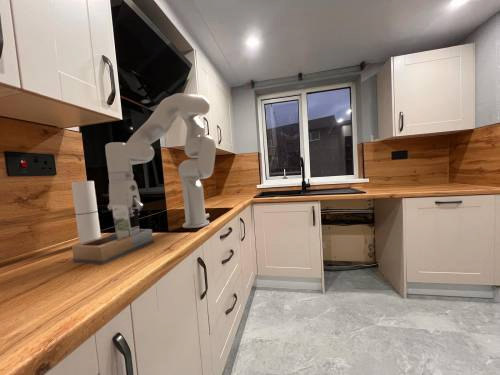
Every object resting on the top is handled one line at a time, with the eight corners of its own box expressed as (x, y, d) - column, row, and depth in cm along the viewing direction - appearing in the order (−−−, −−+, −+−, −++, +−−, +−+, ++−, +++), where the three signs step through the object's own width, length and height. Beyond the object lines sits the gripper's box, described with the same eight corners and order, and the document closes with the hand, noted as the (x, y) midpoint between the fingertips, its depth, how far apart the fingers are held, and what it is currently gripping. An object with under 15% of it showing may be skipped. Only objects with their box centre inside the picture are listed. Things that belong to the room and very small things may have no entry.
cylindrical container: (75, 247, 85) (66, 182, 84) (85, 242, 92) (77, 182, 91) (96, 245, 87) (88, 181, 85) (104, 239, 94) (97, 180, 92)
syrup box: (141, 239, 84) (136, 201, 83) (131, 245, 78) (126, 204, 77) (127, 240, 84) (122, 202, 83) (116, 245, 79) (111, 205, 78)
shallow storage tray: (127, 241, 88) (126, 229, 88) (153, 242, 84) (152, 229, 83) (73, 261, 69) (71, 246, 69) (103, 264, 65) (101, 247, 65)
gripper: (148, 175, 80) (154, 224, 82) (113, 178, 86) (118, 224, 87) (131, 176, 73) (137, 229, 74) (93, 180, 79) (100, 229, 80)
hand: (127, 226), depth 81 cm, fingers closed on syrup box, 6 cm apart
